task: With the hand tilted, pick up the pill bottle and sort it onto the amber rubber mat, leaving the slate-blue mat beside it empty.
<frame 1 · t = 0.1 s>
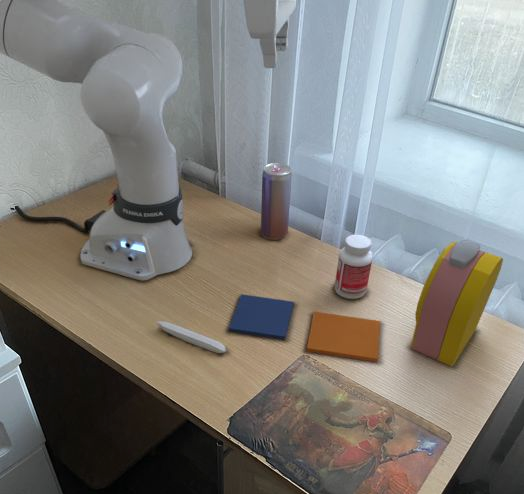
hand: (276, 58, 81), 39 cm above the table, tool pointing down, fingers open, 8 cm apart
beverage can: (274, 234, 118), on the table
pen: (190, 341, 92), on the table
pill bottle: (349, 291, 104), on the table
blue mat: (262, 317, 97), on the table
amber mat: (344, 337, 94), on the table
alarm clock: (441, 339, 94), on the table
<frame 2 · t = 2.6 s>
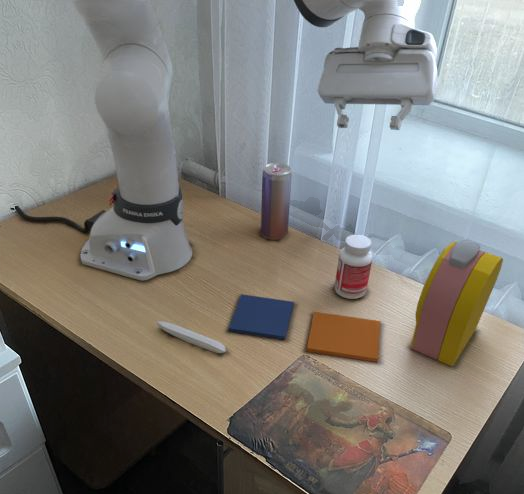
hand: (367, 127, 93), 27 cm above the table, tool tilted 40°, fingers open, 8 cm apart
nothing on the table moved.
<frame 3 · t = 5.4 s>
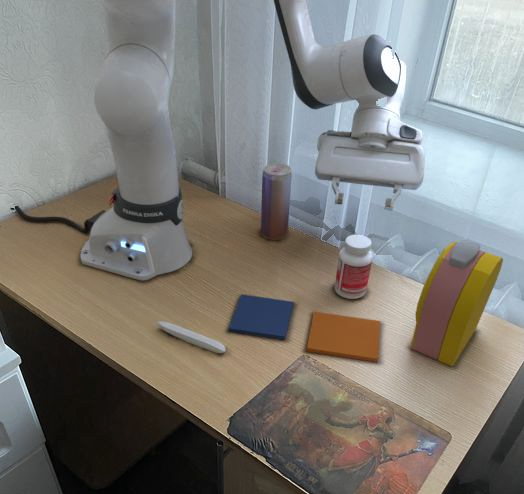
hand: (363, 206, 101), 13 cm above the table, tool tilted 45°, fingers open, 8 cm apart
nothing on the table moved.
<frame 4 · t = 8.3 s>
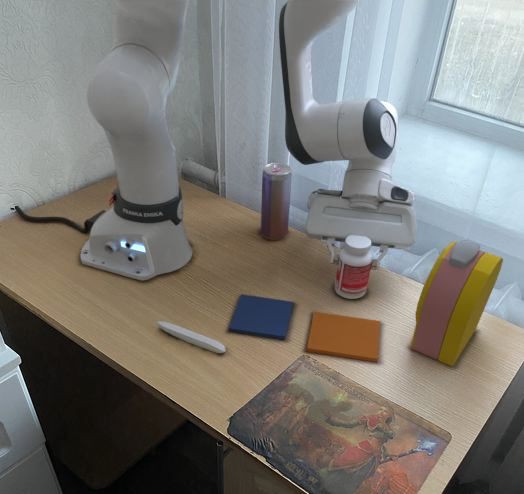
hand: (354, 266, 99), 6 cm above the table, tool tilted 45°, fingers closed on pill bottle, 6 cm apart
pill bottle: (349, 291, 104), on the table, touching gripper
everything else where it was.
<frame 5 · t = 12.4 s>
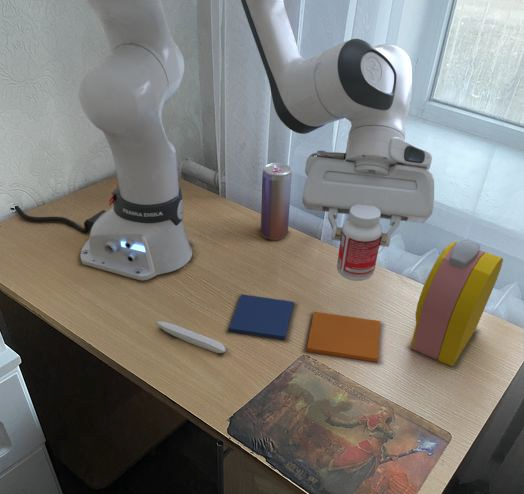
hand: (360, 242, 84), 17 cm above the table, tool tilted 45°, fingers closed on pill bottle, 6 cm apart
pill bottle: (354, 272, 89), point 11 cm above the table, touching gripper
everything else where it was.
when the fingers open (7 cm above the table, at t = 16.4 s): pill bottle stays where it is, resting on amber mat.
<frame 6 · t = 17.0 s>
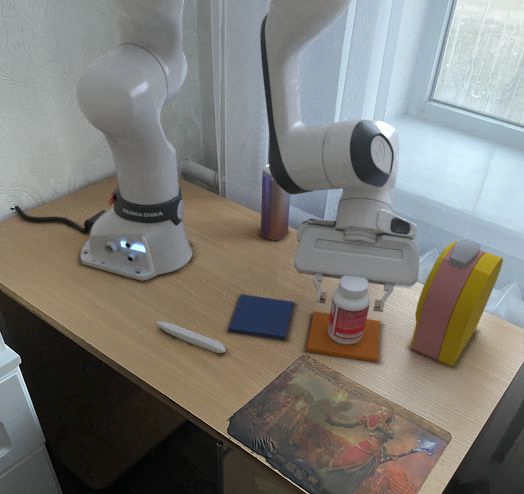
hand: (349, 306, 88), 7 cm above the table, tool tilted 45°, fingers open, 8 cm apart
pill bottle: (344, 334, 93), point 1 cm above the table, touching amber mat
everything else where it was.
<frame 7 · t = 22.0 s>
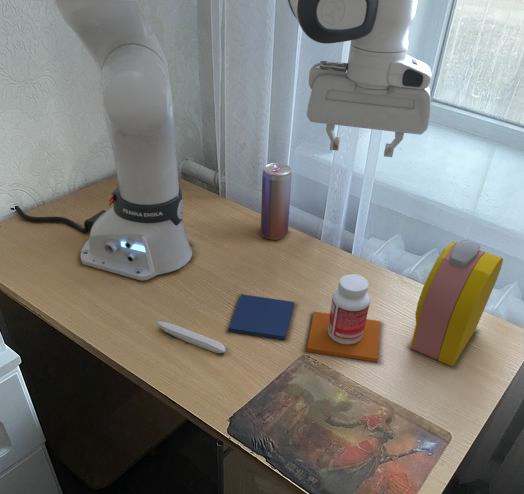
hand: (360, 152, 94), 24 cm above the table, tool pointing down, fingers open, 8 cm apart
nothing on the table moved.
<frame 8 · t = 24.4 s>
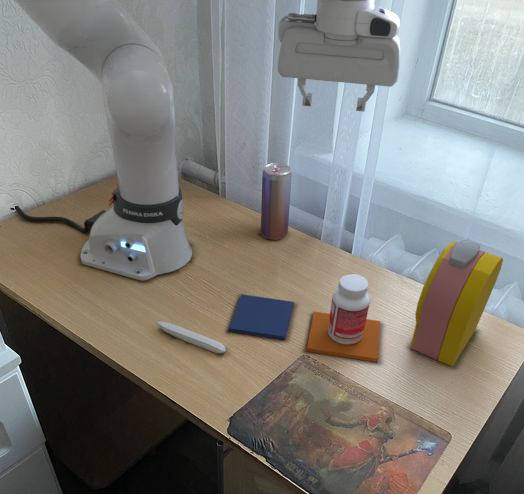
hand: (333, 107, 94), 29 cm above the table, tool pointing down, fingers open, 8 cm apart
nothing on the table moved.
at the end: pill bottle inside the target area on the amber mat (0.0 cm from its centre), point 0.6 cm above the amber mat's base; pill bottle tilted 0°; the gripper is holding nothing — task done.
